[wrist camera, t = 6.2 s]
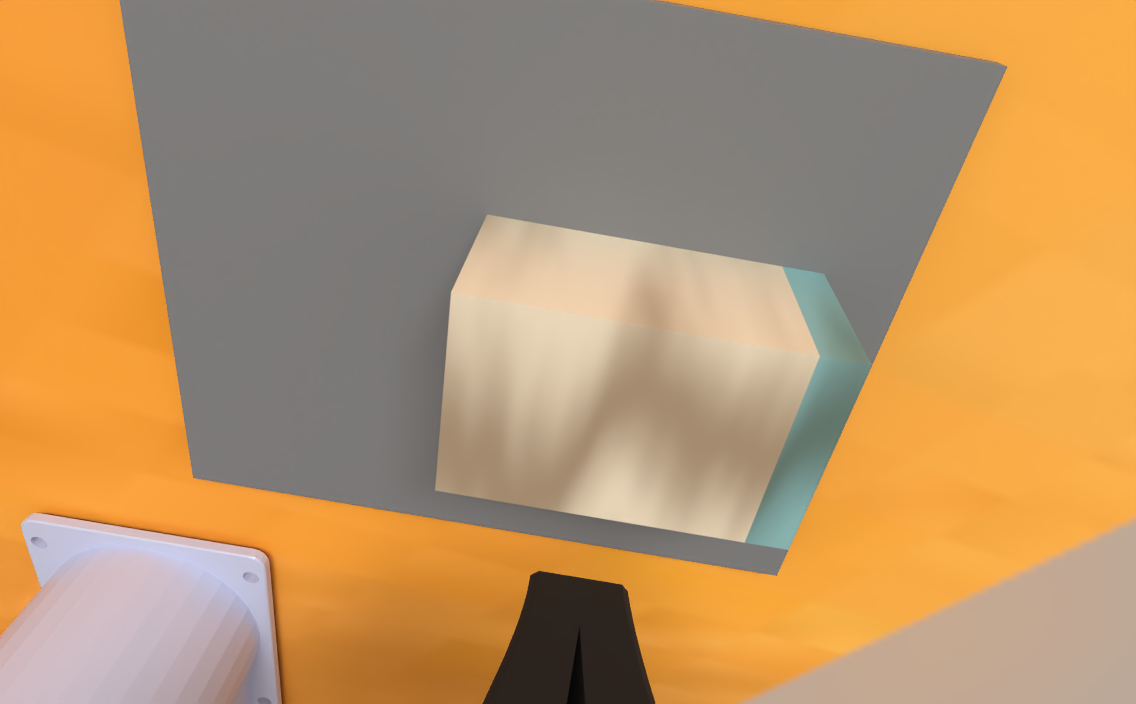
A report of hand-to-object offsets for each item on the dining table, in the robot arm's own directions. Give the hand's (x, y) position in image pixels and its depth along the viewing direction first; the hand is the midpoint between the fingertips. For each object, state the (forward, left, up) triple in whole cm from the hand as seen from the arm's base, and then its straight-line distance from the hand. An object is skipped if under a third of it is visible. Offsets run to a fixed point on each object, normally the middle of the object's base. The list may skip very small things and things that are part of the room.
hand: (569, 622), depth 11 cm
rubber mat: (0, +2, -9) cm, 10 cm away
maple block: (0, +3, -7) cm, 7 cm away
